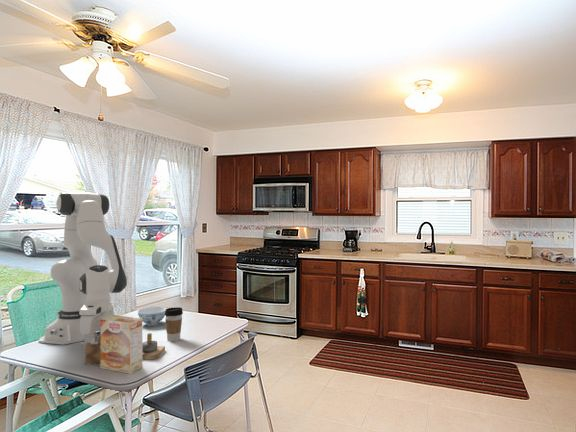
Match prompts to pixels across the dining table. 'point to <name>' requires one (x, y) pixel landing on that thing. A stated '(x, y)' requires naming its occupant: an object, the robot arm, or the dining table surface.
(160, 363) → the dining table surface
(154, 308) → the chinaware
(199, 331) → the dining table surface
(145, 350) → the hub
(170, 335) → the coffee cup
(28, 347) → the dining table surface
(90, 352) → the stand
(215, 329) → the dining table surface
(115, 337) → the coffeecake box
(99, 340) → the faceted octagonal planter
